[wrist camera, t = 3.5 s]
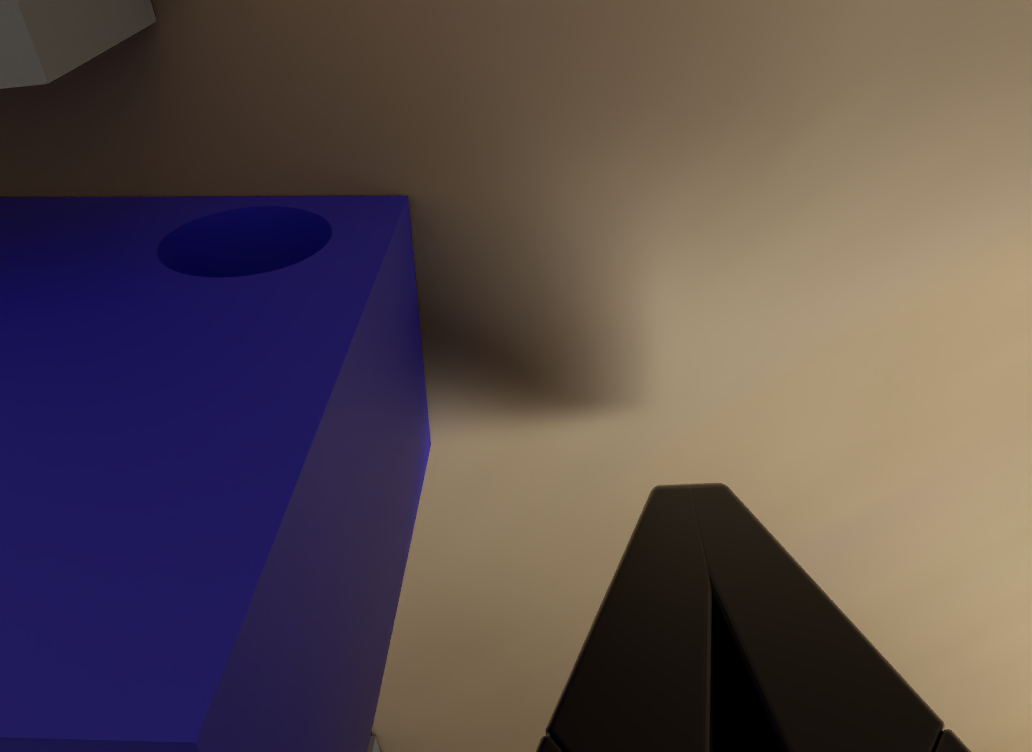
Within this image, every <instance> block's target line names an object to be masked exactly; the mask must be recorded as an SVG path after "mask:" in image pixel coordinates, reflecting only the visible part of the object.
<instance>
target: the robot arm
mask: <svg viewBox="0 0 1032 752" xmlns="http://www.w3.org/2000/svg"><path fill="white" fill-rule="evenodd" d="M944 727H945V726H944V723H943V721H942V720H941V719H940V718H939V717H938V716H937V715H936V713H935V712H934V711H933V710H932V709H931V708H930V707H929V706H928V705H927V704H926V703H925V701H924V700H923V699H922V698H921V697H920V696H919V695H918V694H917V693H916V692H915V691H914V689H913V688H912V687H911V686H910V685H909V684H908V683H907V682H906V681H905V680H904V678H903V677H902V676H901V675H900V674H899V673H898V672H897V671H896V670H895V669H894V668H893V666H892V665H891V664H890V663H889V662H888V661H887V660H886V659H885V658H884V657H883V656H882V654H881V653H880V652H879V651H878V650H877V649H876V648H875V647H874V646H873V645H872V644H871V642H870V641H869V640H868V639H867V638H866V637H865V636H864V635H863V634H862V633H861V632H860V630H859V629H858V628H857V627H856V626H855V625H854V624H853V623H852V622H851V621H850V620H849V618H848V617H847V616H846V615H845V614H844V613H843V612H842V611H841V610H840V609H839V608H838V606H837V605H836V604H835V603H834V602H833V601H832V600H831V599H830V598H829V597H828V596H827V594H826V593H825V592H824V591H823V590H822V589H821V588H820V587H819V586H818V585H817V584H816V582H815V581H814V580H813V579H812V578H811V577H810V576H809V575H808V574H807V573H806V572H805V570H804V569H803V568H802V567H801V566H800V565H799V564H798V563H797V562H796V561H795V560H794V558H793V557H792V556H791V555H790V554H789V553H788V552H787V551H786V550H785V549H784V547H783V546H782V545H781V544H780V543H779V542H778V541H777V540H776V539H775V538H774V537H773V535H772V534H771V533H770V532H769V531H768V530H767V529H766V528H765V527H764V526H763V525H762V523H761V522H760V521H759V520H758V519H757V518H756V517H755V516H754V515H753V514H752V513H751V511H750V510H749V509H748V508H747V507H746V506H745V505H744V504H743V503H742V502H741V501H740V499H739V498H738V497H737V496H736V495H735V494H734V493H733V492H732V491H731V490H730V489H729V487H727V486H726V485H724V484H722V483H704V484H680V485H659V486H656V487H654V488H653V489H652V491H651V493H650V495H649V497H648V499H647V502H646V504H645V506H644V508H643V511H642V513H641V515H640V517H639V520H638V522H637V524H636V526H635V529H634V531H633V533H632V535H631V538H630V540H629V542H628V545H627V547H626V549H625V551H624V554H623V556H622V558H621V560H620V563H619V565H618V567H617V569H616V572H615V574H614V576H613V578H612V581H611V583H610V585H609V588H608V590H607V592H606V594H605V597H604V599H603V601H602V603H601V606H600V608H599V610H598V612H597V615H596V617H595V619H594V621H593V624H592V626H591V628H590V631H589V633H588V635H587V637H586V640H585V642H584V644H583V646H582V649H581V651H580V653H579V655H578V658H577V660H576V662H575V664H574V667H573V669H572V671H571V673H570V676H569V678H568V680H567V683H566V685H565V687H564V689H563V692H562V694H561V696H560V698H559V701H558V703H557V705H556V707H555V710H554V712H553V714H552V716H551V719H550V721H549V723H548V726H547V728H546V736H543V737H542V738H541V740H540V743H539V745H538V747H537V749H536V752H971V751H970V750H969V749H968V748H967V747H966V746H965V745H964V744H963V743H962V741H961V740H960V739H959V738H958V737H957V736H956V735H955V734H954V733H953V732H952V731H951V730H949V729H946V730H944Z"/></svg>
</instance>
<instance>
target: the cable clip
mask: <svg viewBox="0 0 1032 752" xmlns="http://www.w3.org/2000/svg"><path fill="white" fill-rule="evenodd" d="M430 446H431V441H430V430H429V419H428V408H427V397H426V386H425V375H424V364H423V354H422V343H421V332H420V321H419V310H418V299H417V288H416V277H415V266H414V255H413V244H412V233H411V222H410V211H409V201H408V196H194V197H0V752H367V750H368V745H369V741H370V736H371V731H372V726H373V721H374V716H375V712H376V707H377V702H378V697H379V692H380V687H381V683H382V678H383V673H384V668H385V663H386V658H387V654H388V649H389V644H390V639H391V634H392V630H393V625H394V620H395V615H396V610H397V605H398V601H399V596H400V591H401V586H402V581H403V576H404V572H405V567H406V562H407V557H408V552H409V547H410V543H411V538H412V533H413V528H414V523H415V518H416V514H417V509H418V504H419V499H420V494H421V489H422V485H423V480H424V475H425V470H426V465H427V460H428V456H429V451H430Z"/></svg>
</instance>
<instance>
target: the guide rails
mask: <svg viewBox="0 0 1032 752" xmlns="http://www.w3.org/2000/svg"><path fill="white" fill-rule="evenodd" d="M155 22H157V21H156V17H155V14H154V11H153V7H152V4H151V1H150V0H0V89H3V88H12V87H22V86H31V85H41V84H49V83H50V82H52V81H54V80H56V79H57V78H59V77H61V76H63V75H64V74H66V73H68V72H70V71H71V70H73V69H75V68H77V67H78V66H80V65H82V64H83V63H85V62H87V61H89V60H90V59H92V58H94V57H96V56H97V55H99V54H101V53H103V52H104V51H106V50H108V49H110V48H111V47H113V46H115V45H117V44H118V43H120V42H122V41H124V40H125V39H127V38H129V37H131V36H132V35H134V34H136V33H137V32H139V31H141V30H143V29H144V28H146V27H148V26H150V25H151V24H153V23H155ZM367 752H380V748H379V745H378V742H377V739H376V736H370V741H369V745H368V750H367Z"/></svg>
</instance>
